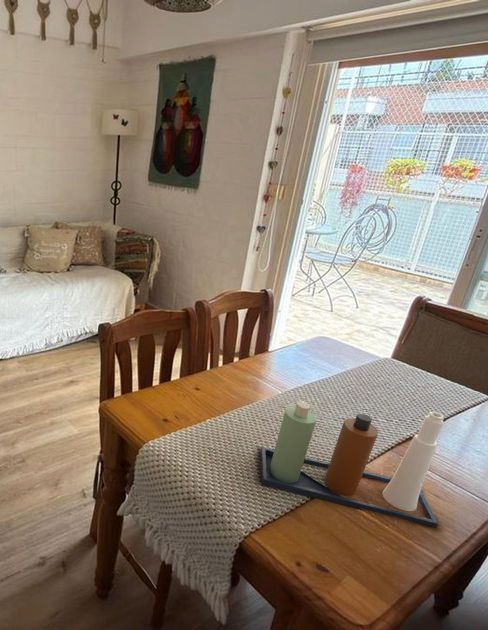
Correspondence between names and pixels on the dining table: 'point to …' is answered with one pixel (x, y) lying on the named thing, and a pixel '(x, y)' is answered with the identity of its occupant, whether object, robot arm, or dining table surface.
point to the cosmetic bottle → (414, 465)
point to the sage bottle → (293, 442)
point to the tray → (319, 491)
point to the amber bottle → (351, 455)
